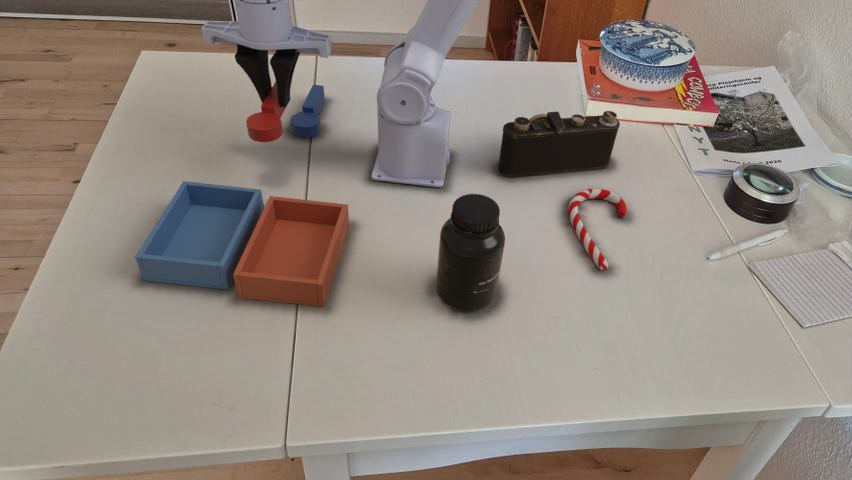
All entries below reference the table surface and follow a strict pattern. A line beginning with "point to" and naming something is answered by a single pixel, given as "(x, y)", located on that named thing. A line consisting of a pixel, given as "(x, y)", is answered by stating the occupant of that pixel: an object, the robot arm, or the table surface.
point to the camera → (557, 144)
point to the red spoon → (267, 119)
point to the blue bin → (201, 235)
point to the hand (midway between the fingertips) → (276, 102)
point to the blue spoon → (309, 114)
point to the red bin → (293, 252)
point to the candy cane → (579, 226)
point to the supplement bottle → (470, 253)
